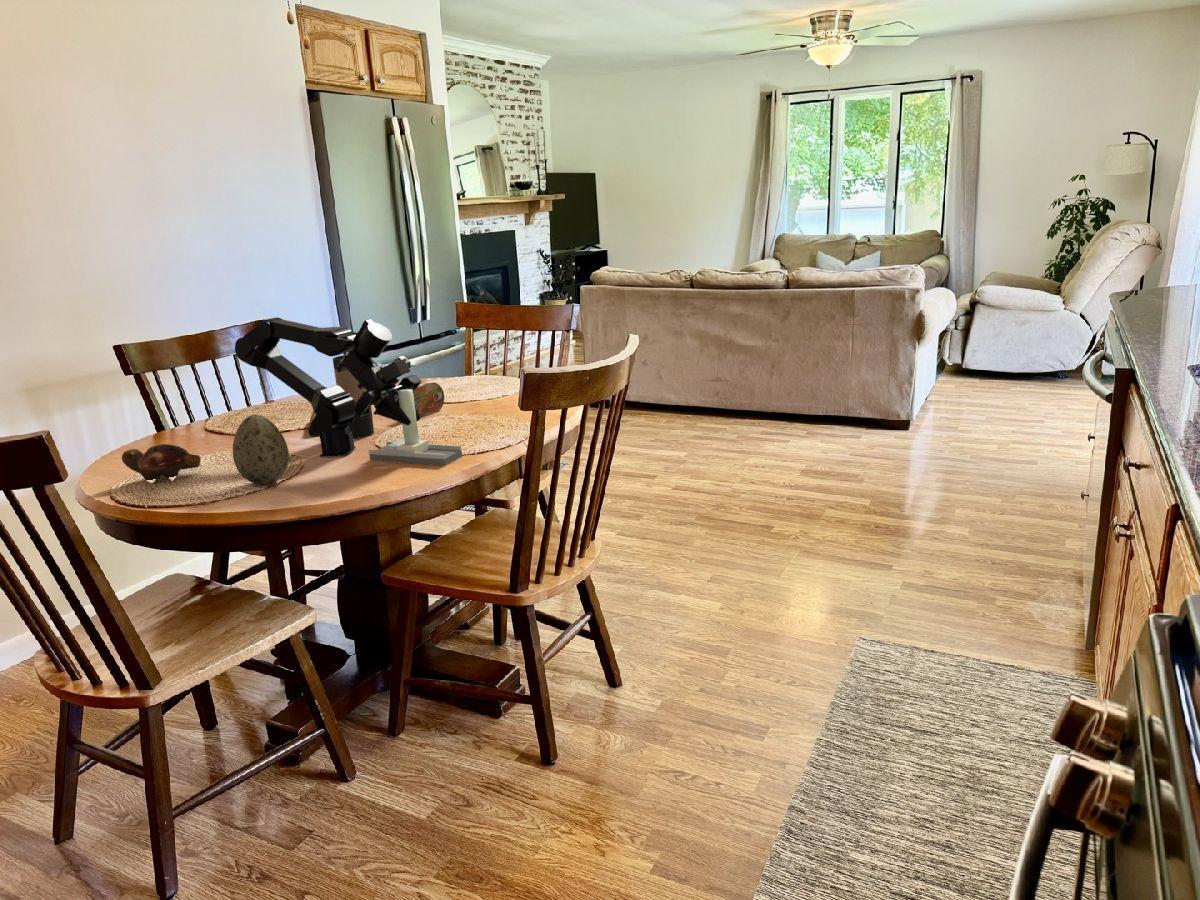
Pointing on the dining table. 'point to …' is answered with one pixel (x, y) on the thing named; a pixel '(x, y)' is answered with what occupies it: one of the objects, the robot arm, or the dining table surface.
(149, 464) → the decorative turtle
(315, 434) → the sunglasses case
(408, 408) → the slider with handle
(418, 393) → the mottled brown rounded slab
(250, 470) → the decorative egg
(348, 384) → the travel mug
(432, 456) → the track
